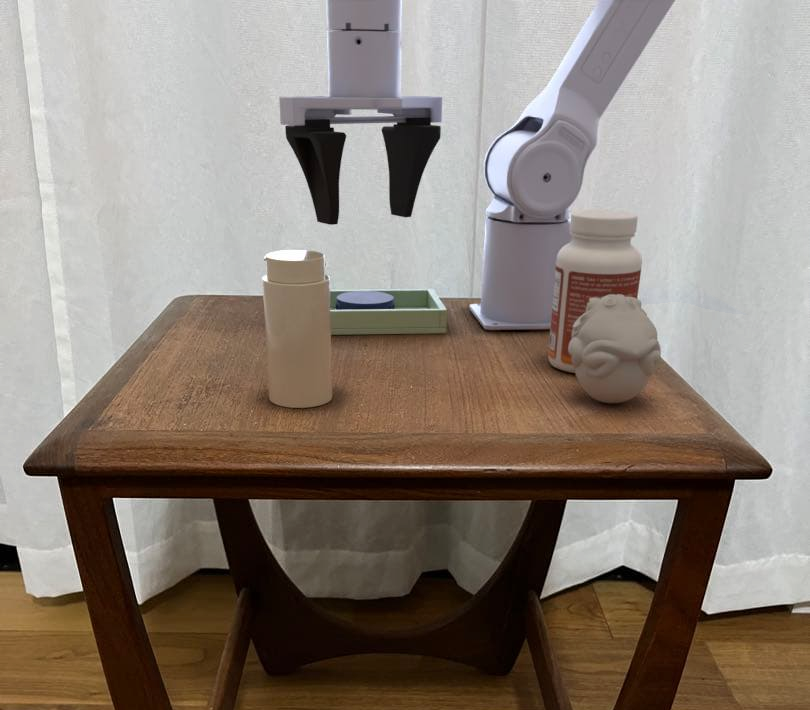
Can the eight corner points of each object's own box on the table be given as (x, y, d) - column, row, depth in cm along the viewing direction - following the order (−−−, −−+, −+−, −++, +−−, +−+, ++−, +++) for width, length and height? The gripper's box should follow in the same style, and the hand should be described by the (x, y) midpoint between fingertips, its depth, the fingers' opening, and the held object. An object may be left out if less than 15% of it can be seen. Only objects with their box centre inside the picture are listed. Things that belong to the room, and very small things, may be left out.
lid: (327, 312, 79) (327, 293, 78) (379, 307, 81) (379, 288, 80) (349, 326, 75) (349, 306, 74) (403, 320, 77) (404, 301, 76)
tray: (432, 310, 82) (433, 288, 81) (446, 333, 75) (447, 310, 74) (291, 312, 81) (290, 290, 80) (291, 335, 74) (290, 311, 73)
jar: (330, 386, 62) (326, 248, 57) (334, 407, 58) (331, 261, 54) (268, 388, 61) (260, 249, 57) (269, 409, 57) (260, 262, 53)
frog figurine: (629, 382, 64) (643, 285, 61) (671, 415, 58) (689, 309, 54) (549, 385, 63) (559, 286, 60) (583, 419, 57) (596, 311, 54)
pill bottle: (645, 369, 67) (668, 216, 61) (586, 382, 64) (605, 222, 58) (588, 350, 71) (604, 205, 66) (530, 361, 68) (543, 210, 63)
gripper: (312, 27, 60) (318, 233, 67) (469, 35, 68) (461, 218, 75) (261, 29, 65) (271, 221, 72) (413, 36, 73) (410, 208, 80)
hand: (365, 219), depth 73 cm, fingers open, 7 cm apart
